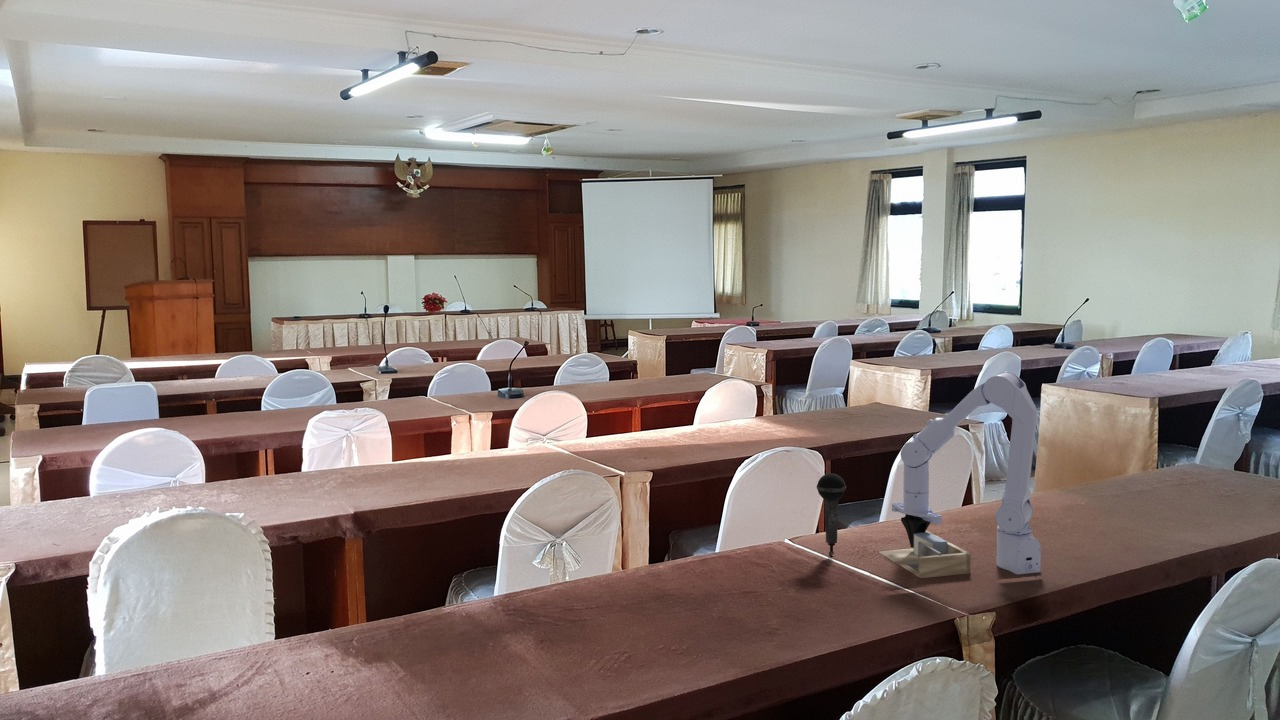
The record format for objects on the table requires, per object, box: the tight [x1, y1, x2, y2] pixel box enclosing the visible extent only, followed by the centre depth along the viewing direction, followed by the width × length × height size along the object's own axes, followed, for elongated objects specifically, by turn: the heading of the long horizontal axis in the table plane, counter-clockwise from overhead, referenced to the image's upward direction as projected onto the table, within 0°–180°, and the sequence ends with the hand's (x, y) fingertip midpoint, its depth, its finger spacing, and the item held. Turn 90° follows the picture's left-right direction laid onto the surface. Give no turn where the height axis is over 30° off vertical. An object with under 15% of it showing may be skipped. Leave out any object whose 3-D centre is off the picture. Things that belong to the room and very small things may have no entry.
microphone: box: [816, 472, 847, 557], centre depth 223 cm, size 7×7×20 cm
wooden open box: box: [878, 529, 972, 579], centre depth 216 cm, size 20×12×6 cm, turn 12°
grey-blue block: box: [914, 532, 948, 556], centre depth 218 cm, size 8×4×5 cm, turn 17°
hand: (915, 547), depth 224 cm, fingers closed
